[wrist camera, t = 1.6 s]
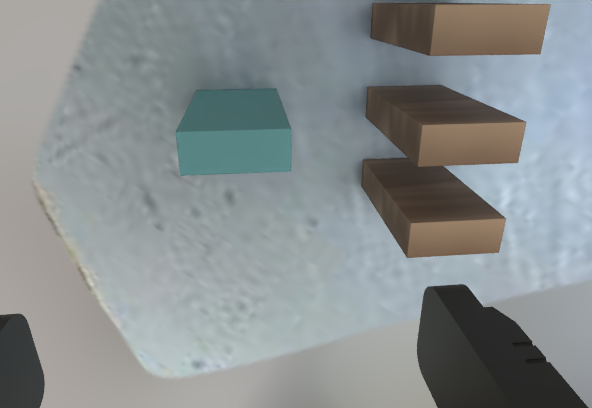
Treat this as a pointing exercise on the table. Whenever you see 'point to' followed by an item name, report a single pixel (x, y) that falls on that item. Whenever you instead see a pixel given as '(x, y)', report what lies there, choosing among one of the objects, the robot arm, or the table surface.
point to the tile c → (461, 27)
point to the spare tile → (234, 133)
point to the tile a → (431, 209)
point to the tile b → (444, 126)
